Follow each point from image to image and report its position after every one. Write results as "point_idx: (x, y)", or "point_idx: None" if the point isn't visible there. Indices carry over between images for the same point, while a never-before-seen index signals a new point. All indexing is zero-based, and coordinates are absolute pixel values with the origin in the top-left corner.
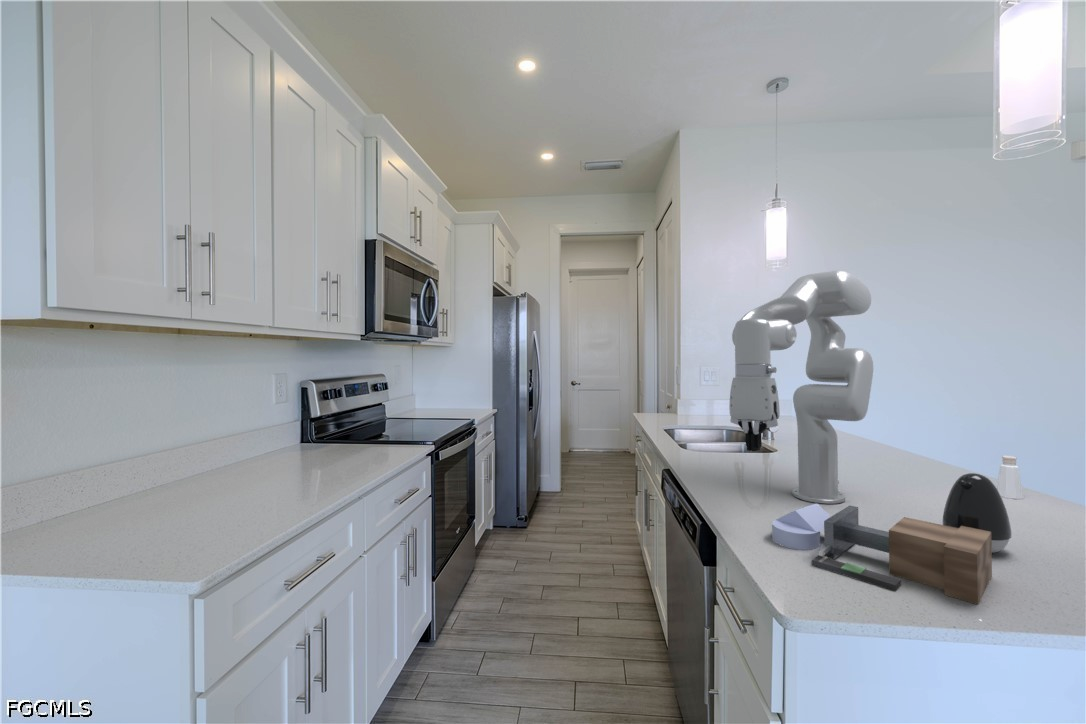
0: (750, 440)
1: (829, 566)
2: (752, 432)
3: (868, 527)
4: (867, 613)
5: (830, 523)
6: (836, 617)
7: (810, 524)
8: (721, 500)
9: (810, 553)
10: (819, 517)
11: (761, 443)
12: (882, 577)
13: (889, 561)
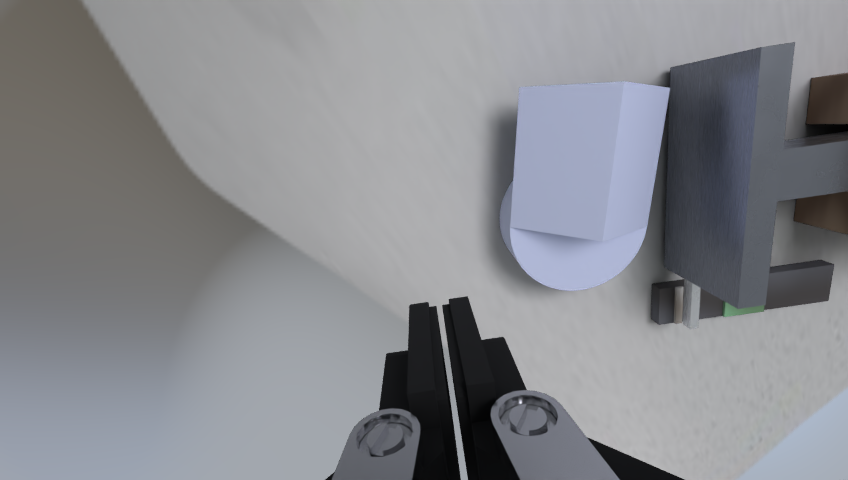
0: (456, 449)
1: None
2: (446, 463)
3: (809, 147)
4: (786, 412)
5: (754, 304)
6: (751, 460)
7: (634, 225)
8: (158, 59)
9: None
10: (640, 151)
11: (507, 345)
12: (800, 285)
13: (824, 228)
